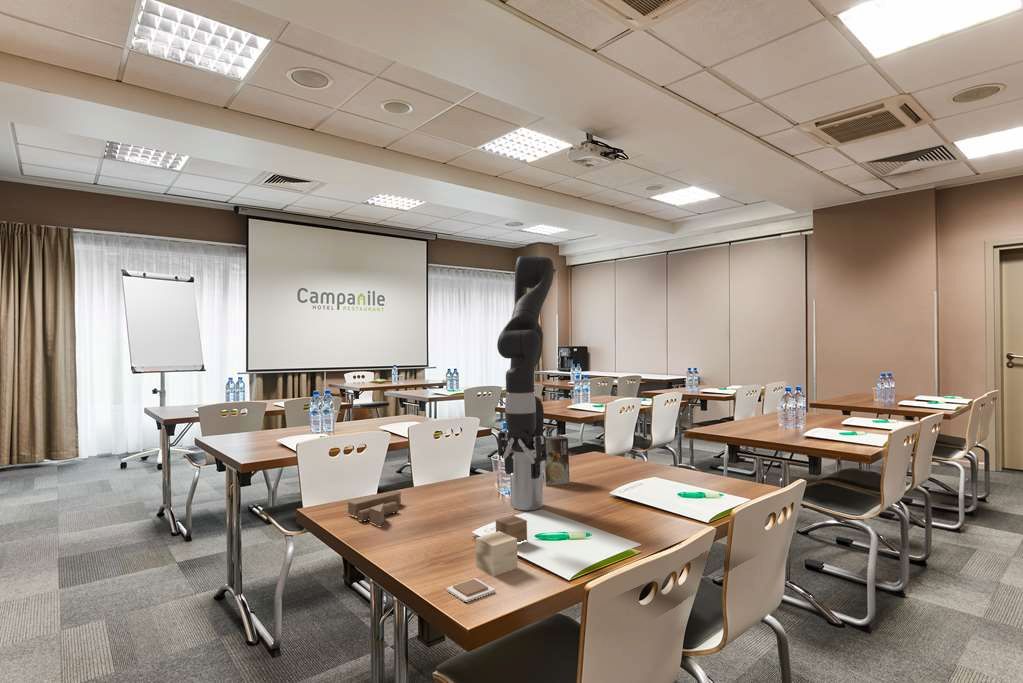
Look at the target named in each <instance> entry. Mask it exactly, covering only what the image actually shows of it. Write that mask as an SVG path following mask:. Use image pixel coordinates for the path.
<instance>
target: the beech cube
mask: <svg viewBox="0 0 1023 683" xmlns="http://www.w3.org/2000/svg"><path fill="white" fill-rule="evenodd" d="M475 559H476V560H475V561H476V562H475V563H476V565H475V566H476V568H478V569H479V570H481V571H483V572H485V573H487V574H489V575H490V576H492V577H496V576H499V575H502V574H505V573H507V572H510V571H513V570H517V569H518V568H519V566H518V562H519V561H518V559H519V558H518V545H517V538H514V537H512V536H510V535H507V534H505V533H503V532H500V531H498V532H496V531H495V532H491V533H488V534H484V535H480V536H478V537H477V536H476V537H475Z"/></svg>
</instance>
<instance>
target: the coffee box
mask: <svg viewBox="0 0 1023 683" xmlns="http://www.w3.org/2000/svg"><path fill="white" fill-rule="evenodd" d="M545 438H546V451H547V460H545V461H542V485H544V486H545V487H549V486H559V485H561V486H562V485H568V484H570V481H571V480H570V478H571V477H570V457H569V438H568V437H566V436H563V435H559V436H558V435H555V436H545Z"/></svg>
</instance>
